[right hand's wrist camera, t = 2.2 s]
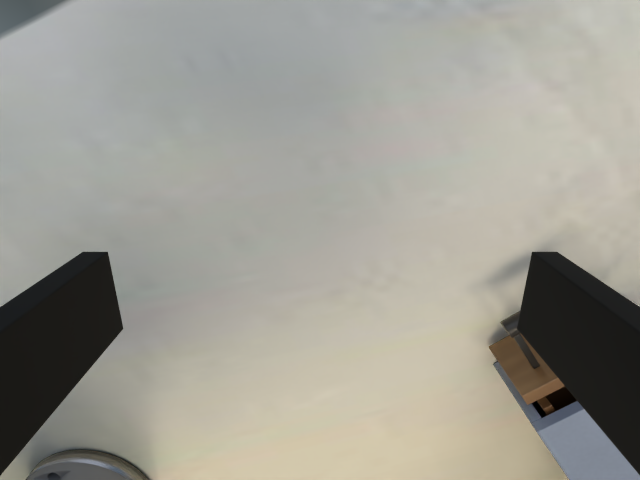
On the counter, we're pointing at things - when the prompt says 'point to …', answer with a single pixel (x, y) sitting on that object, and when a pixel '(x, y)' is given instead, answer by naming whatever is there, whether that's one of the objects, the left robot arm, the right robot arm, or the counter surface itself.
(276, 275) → the counter surface
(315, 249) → the counter surface
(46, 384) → the right robot arm
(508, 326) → the drawer
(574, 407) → the cabinet
